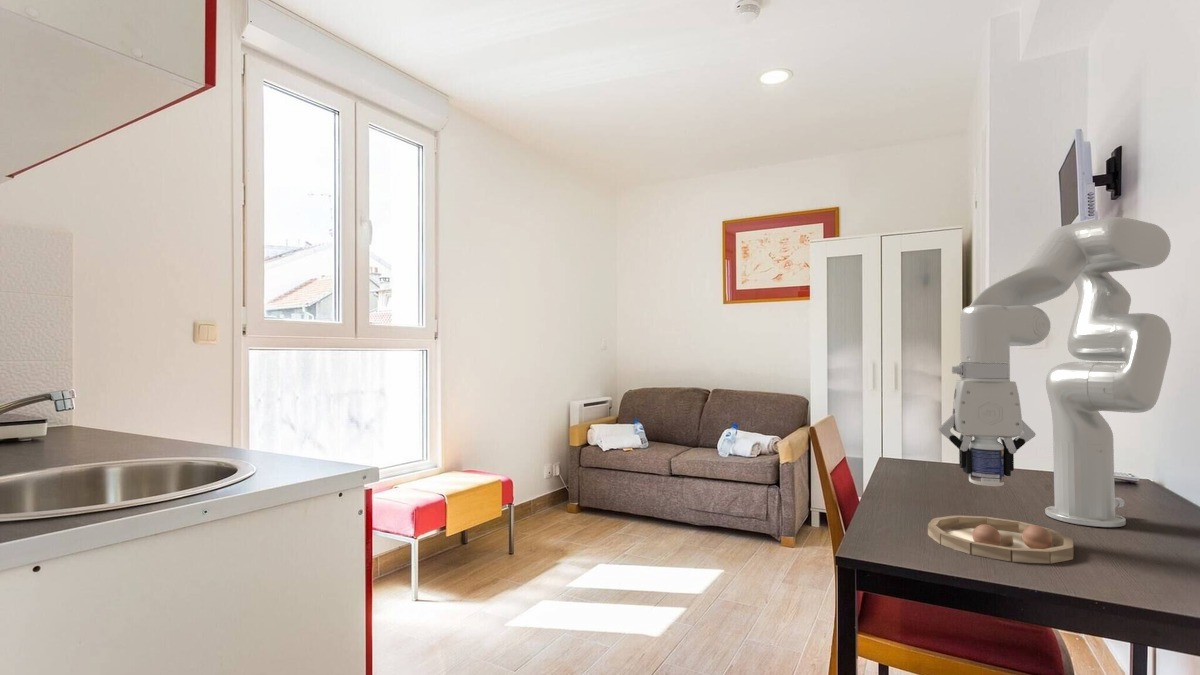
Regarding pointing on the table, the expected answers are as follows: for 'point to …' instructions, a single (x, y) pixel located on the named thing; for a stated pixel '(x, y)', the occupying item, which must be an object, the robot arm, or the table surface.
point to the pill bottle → (986, 461)
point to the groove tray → (1012, 546)
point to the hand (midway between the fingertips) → (986, 472)
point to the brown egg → (986, 535)
